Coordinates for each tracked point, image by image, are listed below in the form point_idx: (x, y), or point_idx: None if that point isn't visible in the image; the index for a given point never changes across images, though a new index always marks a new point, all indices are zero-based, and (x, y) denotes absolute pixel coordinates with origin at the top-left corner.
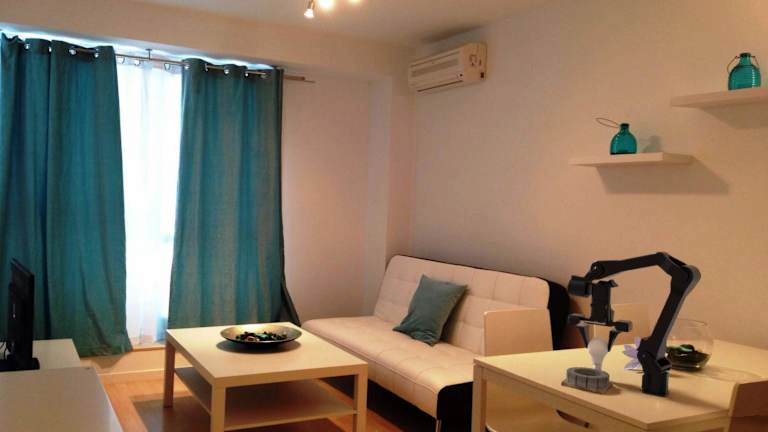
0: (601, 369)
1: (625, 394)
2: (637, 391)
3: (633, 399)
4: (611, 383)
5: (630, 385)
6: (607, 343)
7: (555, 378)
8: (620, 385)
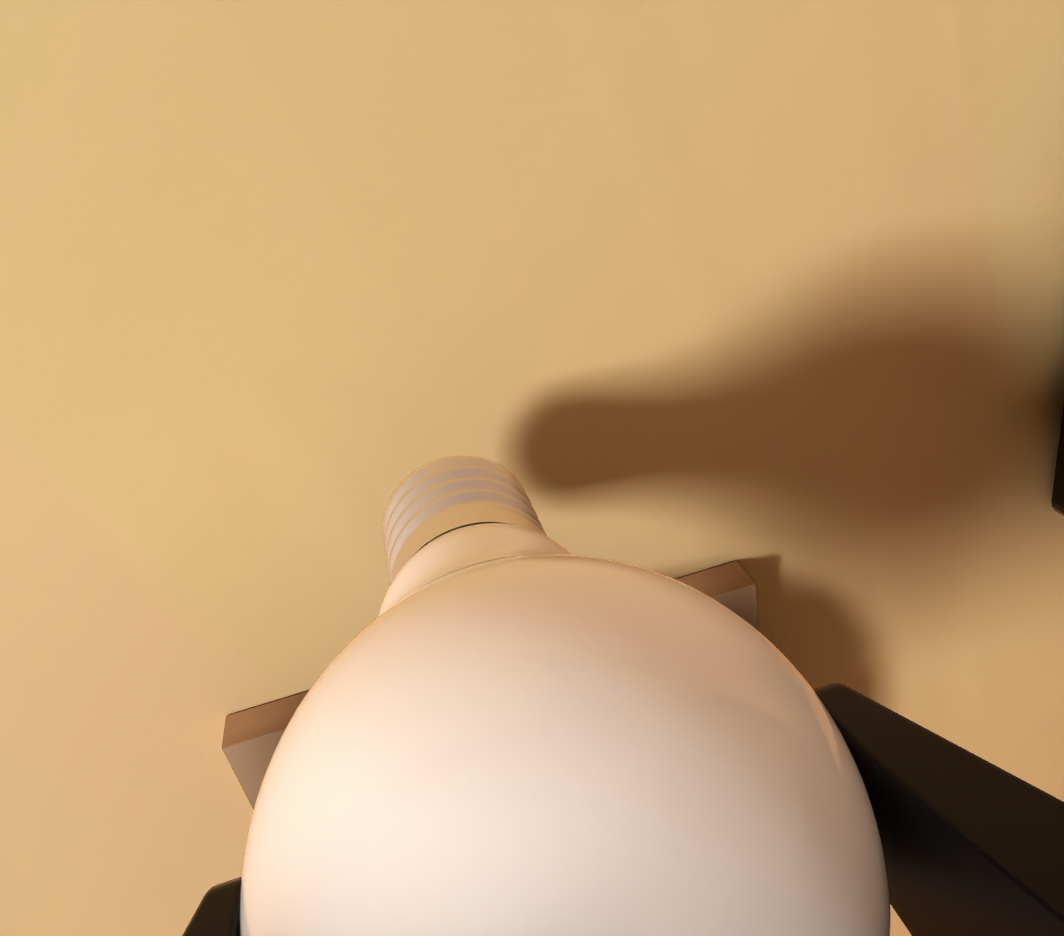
0: (531, 507)
1: (923, 690)
2: (1001, 501)
3: (1008, 744)
4: (753, 626)
5: (889, 339)
6: (889, 908)
7: (122, 883)
8: (793, 455)
